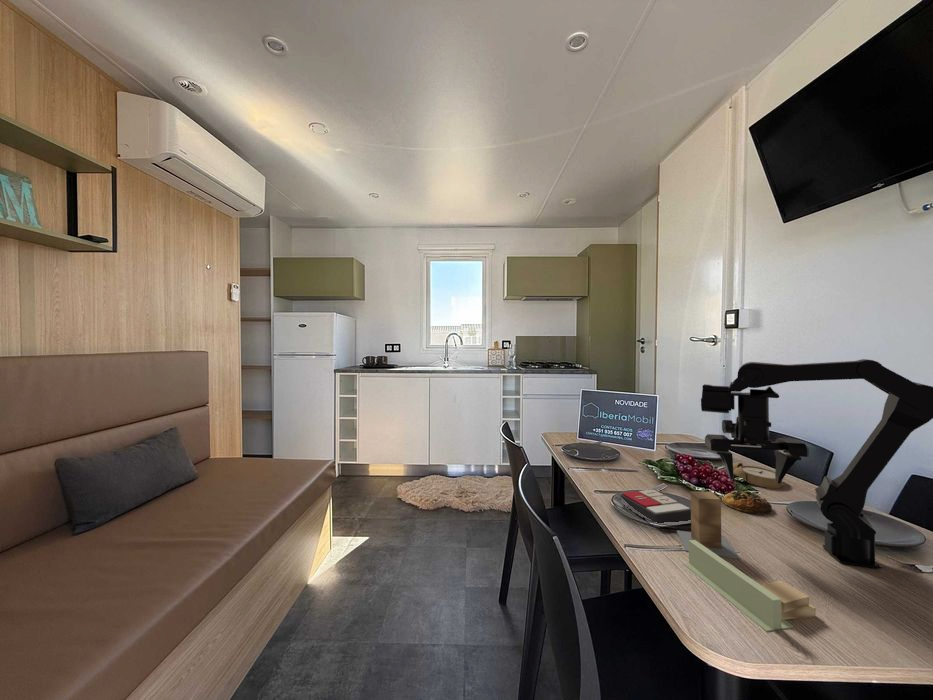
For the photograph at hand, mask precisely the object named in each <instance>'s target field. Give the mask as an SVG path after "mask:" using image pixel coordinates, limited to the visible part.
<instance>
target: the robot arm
mask: <svg viewBox="0 0 933 700" xmlns="http://www.w3.org/2000/svg"><path fill="white" fill-rule="evenodd" d="M838 380H840V381H841V380H864V381H866V382H868V383H870V384H871V385H872V386H874V387H876V388H877V389H879V390H880V391H882V392H884V393H885V394H887V397H886V399H885V403H884V406H883V410H882V411H883V412H882V415H881V419H880V421H879V422H878V424H877V425H876V427H875V428H874V429H873V431H872V432H871V433H870V435H869V436H868V438H867V439H866V441H864V443H863V445H862V446H861V447H860V449H859V450H858V451H857V453H856V454H855V456H854V457H853V458H852V460H851V461H850V463H849V464H848V465H847V466H846V468H845V469H844V470H843V472H842V473H841V475H839V476H838V477H835V478H833V479H832V478H830V477H829V476H827V475H824V477H823V478H822V479H823V480H822V481H821V484H820V485H819V486H818V487H816V488H815V489H814V490H815V494H816V495H815V499H816V503H817V506H818V507H819V509H820V512H821V514H822V515H823V516H824V518H825V519H826V520H828V521H829V522H827V523H826V524H827V525H826V526H827V527H826V530H824V544H823V545H822V548H823V549H824V550H826V552H828V553H829V554H830V555H831V556H832V557H833V558H834V559H835V560H837V561H838V563H841V564H844V565H852V566H859V567H867V568H873V569H880V570H881V569H882V566H881V564H880V563H878V562H877V561H876V534H877V531H876V530H875V528H874V527H873V525H872V524H871V522H870V520H869V519H868V518H867V516H866V515H865V514H864V513H863V510H864V507H865V504H866V500H867V499H866V498H867V495H868V494H867V493H868V491H869V489H870V487H871V486H872V485H874V483H875V481H876V480H877V478H878V477H879V476H880V475H881V473H882V471H883V470H884V469H885V468H886V466H887V465H888V464H889V462H890V461H891V460H892V458H893V457H894V456H895V455H896V453H897V452H898V451H899V450H900V448H901V446H902V445H903V444H904V443H905V441H906V440H907V439H908V437H909V436H910V435H911V433H912V432H914V431H916V430H917V429H919V428H921V427H922V426H924V425H926V424H928V423H929V422H930V421H931V420H932V419H933V385H931V386H930V385H928V384H923V383H919V382H914V381H912V380H910V379H908V378H907V377H904V376H902V375H900V374H898V373H896V372H894V370H891V369H889V368H887V367H885V366H884V365H882V363H880V362H879V361H876V360H874V359H867V358H866V359H864V358H862V359H859V360H858V359H856V360H850V361H849V360H847V361H832V362H831V361H830V362H829V361H827V362H814V363H813V362H812V363H796V364H794V363H793V364H792V363H791V364H781V363H772V362H759V361H748V362H744V363H743V364H741V366H740V367H739V369H738V371H737V377H736V378H735V379H734V380H733V381H731V382H730V384H729V385H712V384H703V385H702V387H701V388H702V390H701V398H700V409H701V412H705V413H706V412H708V413H718V414H720V413H721V414H730V411H733V410H734V411H735V407H736V406H735V404H736V402H735V399H736V398H735V397H737V416H736V421H735V423H734V422H733V420H732V419H722V420H721V430H722V433H723V434H712V433H711V434H708V433H707V434H706V435H705V437H704V445H705V446H706V447H707V448H708V449H709V450H710V451H713V452H714V453H715V454H716V455H719V458H720V459H721V461H722V463H723V465H724V469H725V468H726V471H727V472H726V471H725V472H726V474H727V476H728V478H729V479H730V480H733V479H734V476H733V465H734V460H733V459H734V457H733V455H734V454H733V453H732V452H731V451H730V450H731V449H732V448H733V449H735V448H736V449H751V450H752V449H753V450H768V451H770V450H771V451H774V454H775V470H774V471H775V479H776V483H778V484H780V483H781V481H782V482H783V480H784V478H785V476H786V474H787V473H788V472H789V471H790V469H791V468H792V466H794V464H795V463H796V462H797V461H802V459H803V458H809V457H810V448H809V446H808V445H807V444H806V443H805V442H803V441H801V440H798V439H796V438H790V437H789V438H786V437H777V438H776V439H775V441H772V440H771V439H770V428H771V427H772V422H771V421H770V411H769V410H770V407H769V406H770V403H769V402H770V399H778V398H780V394H779V393H777V392H776V391H775V390H774V389H773V388H772V387H771V386H775V385H779V384H784V383H790V382H809V381H810V382H812V381H838ZM763 387H767V388H765V389H758V388H763ZM749 388H750V389H749ZM746 389H749V392H742V391H744V390H746ZM769 398H770V399H769ZM724 434H730V435H731V438H733V439H731V438H729V437H727V436H726V435H724ZM802 457H803V458H802Z"/></svg>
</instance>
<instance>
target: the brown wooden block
mask: <svg viewBox="0 0 933 700" xmlns="http://www.w3.org/2000/svg"><path fill="white" fill-rule="evenodd" d="M690 509H691V524H690V530H691V531H690V532H691V538H692V539H693V540H696V541H697V542H699V543H700V544H702V545H703V546H705V547H706V548H718V549H722V544H721V536H722V498H720V497H719V496H717V495H716V494H715V493H713V492H712V491H693V490H690Z"/></svg>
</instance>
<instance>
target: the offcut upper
mask: <svg viewBox="0 0 933 700" xmlns="http://www.w3.org/2000/svg"><path fill="white" fill-rule="evenodd" d="M760 585H761V586H763V587H764V588H766V589H767V590H769V591H770V592H771V593H773V594H774V595H776V596H777V597H779V598H780V599H781V610H782V611H783V612H787V611H790V610H794V609H798V608H801V607H805V606H809V604H810V596H809V595H808V594H805V593H803V592H802V591H800V590H798V589H796V588H794V587H793V586H791V585H789V584H788V583H785V582H783V581H782V580H776V581H772V582H768V583H762V584H760Z"/></svg>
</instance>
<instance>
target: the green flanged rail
mask: <svg viewBox="0 0 933 700" xmlns="http://www.w3.org/2000/svg"><path fill="white" fill-rule="evenodd" d="M683 565H684V566H685V567H686V568H687V569H689V570H690V571H691V572H692V573H694V575H696V576H697V577H698V578H699V579H701V580H702V581H703V582H705V583H706V584H707V585H708V586H709V587H711V588H712V589H713V590H715V591H716V592H717V593H719V595H721V596H722V597H724V599H725V600H727V601H728V602H729V603H731V604H732V606H734V607H736V608H737V610H740V611H741V612H742V613H743V614H744V615H746V617H748V618H749V619H750V620H752V621H753V622H754V623H755V624H757V625H758V627H760V628H761V629H763V630H764V631H765V632H773V631H780V630H781V631H782V630H786V629H792V628H794V625H793V624H791V623H789V622H788V620H787V619H786V620H781V599H780V598H779V597H777V596H776V595H774V594H773V593H771V592H770V591H769V590H767V589H766V588H764V587H763V586H761V585H762V584H760V583H758V582H757V581H756V580H754V579H753V578H751V577H750V576H748V575H747V574H745V573H744V572H742V571H741V570H739V569H738V568H736V566H734V565H732V564H731V563H730V562H728V561H726V560H725V559H724V558H723V557H720V556H718V555H716V554H715V553H713V552H712V551H711V550H709V549H708V548H706V547H705V546H703V545H702V544H700V543H699V542H697V541H696V540H689V552H688V562H686V563H685V562H684V563H683Z"/></svg>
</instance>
